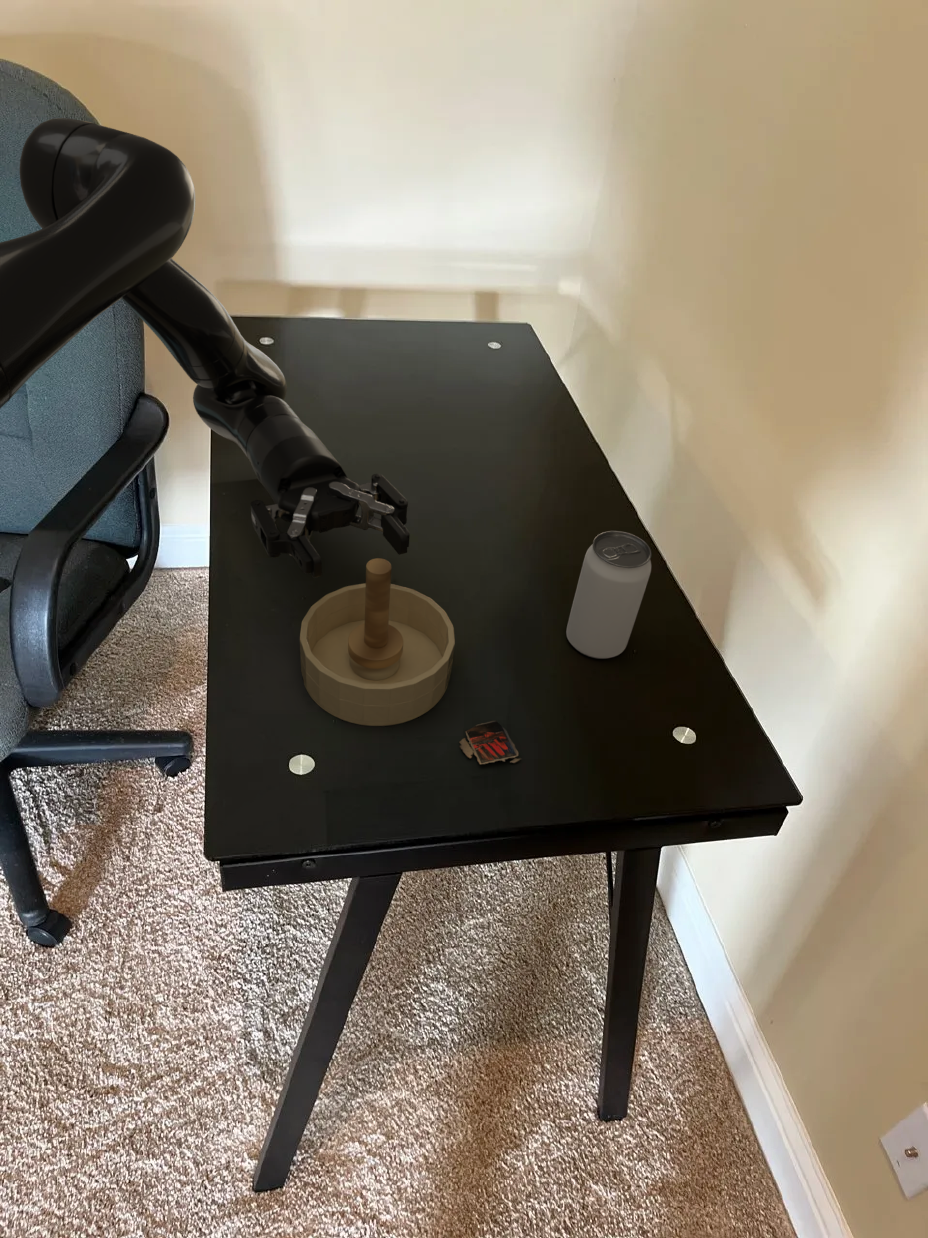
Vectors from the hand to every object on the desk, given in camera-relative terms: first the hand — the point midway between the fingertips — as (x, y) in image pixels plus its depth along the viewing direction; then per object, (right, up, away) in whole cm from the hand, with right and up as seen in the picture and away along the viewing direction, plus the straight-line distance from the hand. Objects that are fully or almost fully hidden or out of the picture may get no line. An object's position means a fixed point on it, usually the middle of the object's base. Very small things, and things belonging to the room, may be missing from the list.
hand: (362, 557), depth 75 cm
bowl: (+1, -10, +5) cm, 12 cm away
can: (+23, -8, +12) cm, 27 cm away
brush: (+1, -10, +5) cm, 11 cm away
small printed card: (+11, -17, -1) cm, 20 cm away
